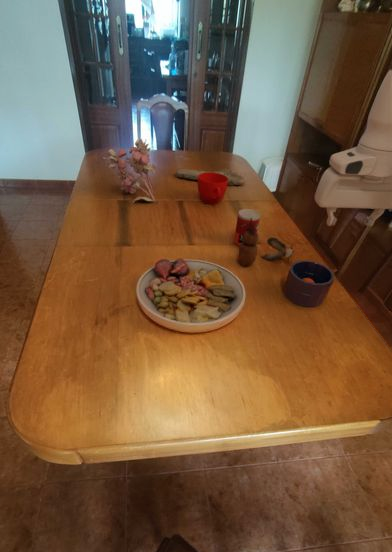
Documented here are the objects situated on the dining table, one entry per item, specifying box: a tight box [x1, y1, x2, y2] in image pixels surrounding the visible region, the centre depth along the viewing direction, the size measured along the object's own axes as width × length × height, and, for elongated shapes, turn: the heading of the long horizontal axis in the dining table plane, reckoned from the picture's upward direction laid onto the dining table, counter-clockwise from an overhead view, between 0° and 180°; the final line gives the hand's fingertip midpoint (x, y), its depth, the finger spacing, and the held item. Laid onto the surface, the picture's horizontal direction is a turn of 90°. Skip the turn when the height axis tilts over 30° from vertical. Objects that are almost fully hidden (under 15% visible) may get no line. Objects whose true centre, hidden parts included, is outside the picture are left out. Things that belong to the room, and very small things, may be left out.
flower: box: [102, 138, 159, 204], centre depth 132 cm, size 20×22×25 cm
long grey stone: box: [175, 168, 246, 187], centre depth 158 cm, size 35×5×10 cm
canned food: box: [233, 208, 261, 248], centre depth 113 cm, size 8×8×11 cm
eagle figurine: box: [262, 237, 295, 261], centre depth 109 cm, size 8×7×9 cm
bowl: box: [135, 258, 247, 334], centre depth 88 cm, size 30×30×8 cm
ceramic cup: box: [197, 171, 228, 206], centre depth 136 cm, size 13×17×10 cm
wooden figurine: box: [238, 218, 259, 268], centre depth 102 cm, size 7×6×15 cm
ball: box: [303, 278, 314, 283], centre depth 95 cm, size 5×5×5 cm
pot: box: [282, 259, 335, 309], centre depth 94 cm, size 13×13×8 cm
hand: (348, 225), depth 77 cm, fingers open, 8 cm apart
